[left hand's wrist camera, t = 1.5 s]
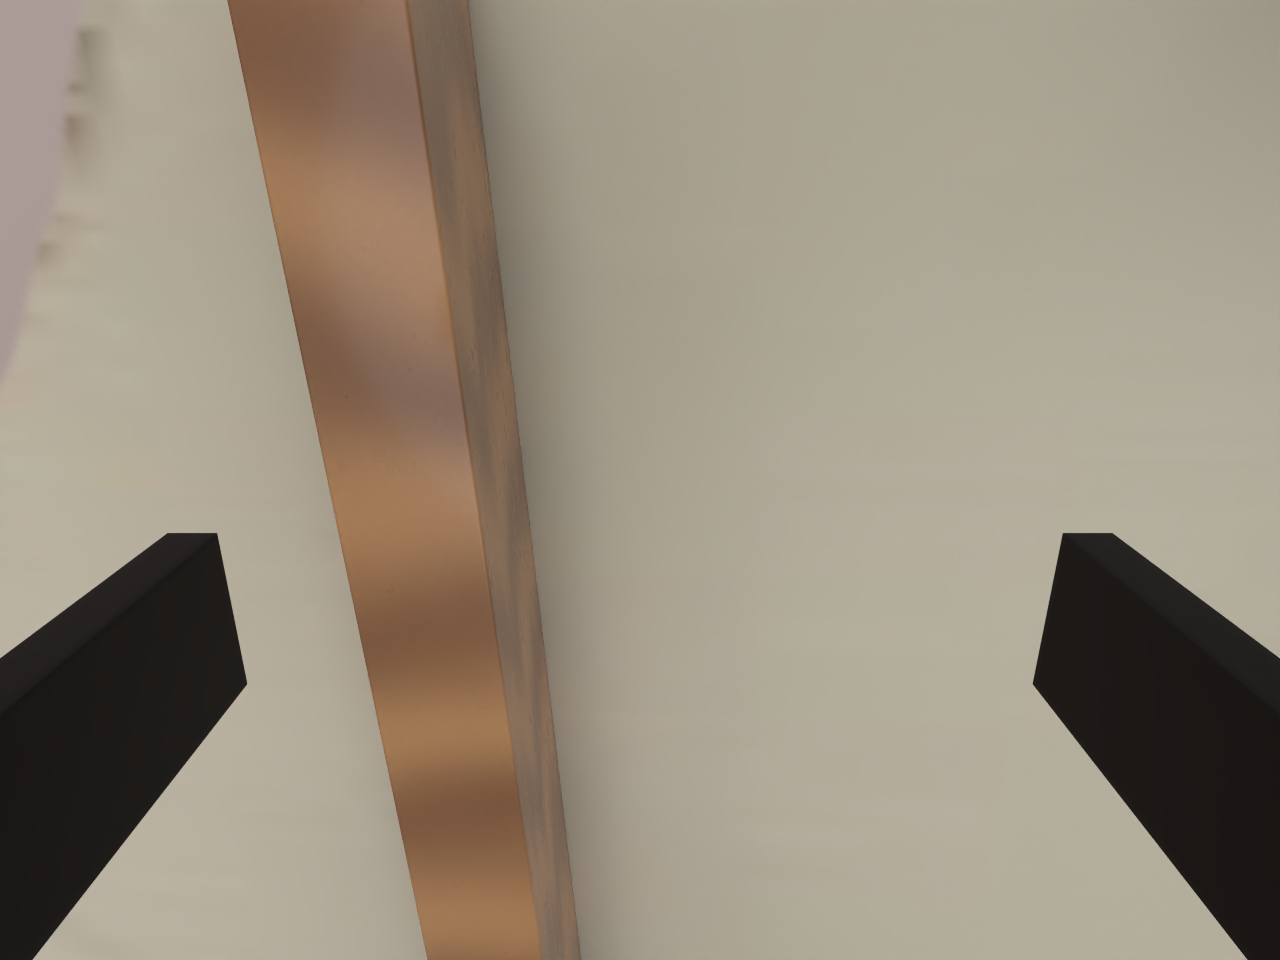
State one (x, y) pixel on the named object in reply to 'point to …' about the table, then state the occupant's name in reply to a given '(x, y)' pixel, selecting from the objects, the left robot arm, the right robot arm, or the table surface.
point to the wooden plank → (420, 444)
